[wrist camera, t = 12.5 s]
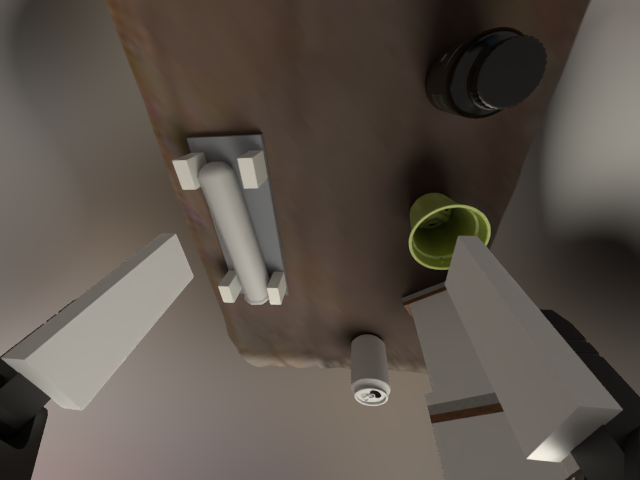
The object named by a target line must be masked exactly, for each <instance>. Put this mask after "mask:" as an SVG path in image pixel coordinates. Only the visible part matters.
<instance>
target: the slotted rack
mask: <svg viewBox="0 0 640 480" xmlns="http://www.w3.org/2000/svg"><path fill="white" fill-rule="evenodd" d="M186 139H187V142H188V145H189V148H190V151H191V153H189V154H187V155H185V156H182V157H180V158H177V159H175V160H172V162H173V165H174V167H175V170H176V173H177V175H178V178H179V181H180V184H181V186H182V189H183V190H194V189H197V188H199V187H200V184H199V181H198V179H197V178H198V175H199V171H200V169H201V168H202V167H203V166H204V165H206V164H208V163H210V162H221V161H222V162H224V163H226V164H228V165H229V166H230V167H231V168H232V169H234V171H235V174H236V177H237V180H238V183H239V186H240V189H241V192H242V195H243V198H244V201H245V205H246V208H247V211H248V214H249V217H250V220H251V223H252V226H253V229H254V232H255V235H256V238H257V242H258V245H259V248H260V251H261V254H262V257H263V260H264V263H265V266H266V269H267V272H268V276H269V279H270V281H269V284H268V286H267V292H268V296H269V300H270V304H276V305H281V303H282V300H283V297H284V295H288V293H289V289H288V283H287V277H286V271H285V265H284V259H283V253H282V247H281V241H280V235H279V229H278V223H277V217H276V211H275V205H274V199H273V193H272V187H271V181H270V175H269V169H268V163H267V157H266V151H265V145H264V139H263V134H247V135H226V136H204V137H189V138H186ZM207 204H208V203H207ZM208 208H209V206H208ZM209 211H210V208H209ZM210 214H211V217H212V220H213V223H214V226H215V229H216V232H217V236H218V239H219V242H220V245H221V248H222V251H223V254H224V257H225V260H226V264H227V267H228V270H229V271H228V272H227V274H226V275H225V277H224V278H223V280H222V281H221V283H220V284H219V285H218V288H219V290H220V293H221V296H222V299H223V301H224V302H228V303H234V302H235V300H236V298H237V296H238V295H239V293H244V292H243V290H242V287H241V285H240V282H239V280H238V277H237V275H236V272H235V270H234V267H233V265H232V262H231V260H230V258H229V255H228V253H227V250H226V248H225V245H224V243H223V240H222V238H221V235H220V233H219V230H218V228H217V226H216V223H215V221H214V218H213V216H212V213H211V211H210Z"/></svg>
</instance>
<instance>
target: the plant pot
mask: <svg viewBox="0 0 640 480" xmlns="http://www.w3.org/2000/svg"><path fill="white" fill-rule="evenodd" d="M447 208H448V210H447V211H446V209H447ZM410 221H411V233H410V235H409V249H410V252H411V254H412V256H413V258H414V259H415V260H416V261H417V262H418V263H420V264H421V265H423V266H425V267H428V268H431V269H437V270H446V269H449V267H450V263H451V260H452V256H453V252H454V249H455V245H456V242H457V238H458V236H478V237H479V239H480V240H481V241H482V242H483V243H484V245H485V246H486V245H487V243H488V241H489V238H490V232H491V231H490V224H489V221H488V219H487V218H486V216H485V215H484V214H483V213H482V212H481V211H479V210H478V209H476V208H474V207H472V206H468V205H463V204H458V203H456V202H454V201H453V200H451V199H450V198H448V197H447V196H445V195H443V194H440V193H428V194H425V195H423V196H421V197H419V198H418V199H417V200H416V201H415V203H414V204H413V205H412V207H411V209H410ZM433 223H437V224H435V225H433V226H429V224H433Z"/></svg>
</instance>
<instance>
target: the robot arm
mask: <svg viewBox="0 0 640 480" xmlns="http://www.w3.org/2000/svg"><path fill="white" fill-rule="evenodd" d="M193 277H194V276H193V273H192V271H191V269H190V266H189V264H188V261H187V259H186V257H185V255H184V252H183V250H182V247H181V245H180V242H179V240H178V238H177V235H176V234H160V235H159V236H158V237H156V238H155V239H154V240H153V241H151V242H150V243H149V244H147V245H146V246H145V247H144V248H142V249H141V250H140V251H138V252H137V253H136V254H135V255H133V256H132V257H131V258H129V259H128V260H127V261H125V262H124V263H123V264H122V265H120V266H119V267H118V268H116V269H115V270H114V271H112V272H111V273H110V274H109V275H107V276H106V277H105V278H103V279H102V280H101V281H100V282H98V283H97V284H96V285H94V286H93V287H92V288H90V289H89V290H88V291H87V292H85V293H84V294H83V295H82V296H80V297H79V298H77V299H76V300H74V301H72V302H71V303H70V304H68V305H67V306H66V307H64V308H63V309H62V310H60V311H59V312H58V314H55V315H54V316H53V317H51V318H50V319H49V320H47V322H46V323H45V324H42V325H41V326H40V327H38V328H37V329H36V330H34V331H33V332H32V333H30V334H29V335H28V336H27V337H25V338H24V339H23V340H21V341H20V342H19V343H18V344H16V345H15V346H14V347H12V348H11V349H10V350H8V351H7V352H6V353H4V354H3V355H2V356H1V357H0V480H31V477H32V473H33V469H34V466H35V462H36V458H37V454H38V450H39V447H40V443H41V439H42V435H43V431H44V428H45V424H46V420H47V416H48V411H47V409H46V408H44V407H43V406H44V405H45V404H46V403H47V402H48V401H49V400H50V399H52V400H53V401H54V402H55V403H57V404H58V405H59V406H60V407H62V408H66V409H75V410H84V408H85V407H86V406H87V405H88V404H89V402H90V401H91V400H92V399H93V398H94V396H95V395H96V394H97V393H98V392H99V390H100V389H101V388H102V387H103V386H104V384H105V383H106V382H107V381H108V380H109V378H110V377H111V376H112V375H113V373H114V372H115V371H116V370H117V369H118V368H119V366H120V365H121V364H122V363H123V361H124V360H125V359H126V358H127V357H128V355H129V354H130V353H131V352H132V351H133V349H134V348H135V347H136V346H137V345H138V343H139V342H140V341H141V340H142V339H143V337H144V336H145V335H146V334H147V332H148V331H149V330H150V329H151V328H152V326H153V325H154V324H155V323H156V321H158V319H159V318H160V317H161V316H162V315H163V313H164V312H165V311H166V310H167V309H168V307H169V306H170V305H171V304H172V302H173V301H174V300H175V299H176V298H177V297H178V295H179V294H180V293H181V292H182V291H183V289H184V288H185V287H186V286H187V284H188V283H189V282H190V281H191V280H192V278H193ZM445 286H446V289H447V291H448V293H449V295H450V297H451V299H452V301H453V304H454V306H455V308H456V310H457V312H458V314H459V316H460V318H461V321H462V323H463V325H464V327H465V329H466V331H467V333H468V336H469V338H470V340H471V342H472V344H473V346H474V348H475V351H476V353H477V355H478V357H479V359H480V361H481V363H482V365H483V368H484V370H485V372H486V374H487V376H488V378H489V380H490V383H491V385H492V387H493V389H494V391H495V393H496V395H497V397H498V400H499V402H500V404H501V406H502V408H503V410H504V412H505V415H506V417H507V419H508V421H509V423H510V425H511V427H512V430H513V432H514V434H515V436H516V438H517V440H518V442H519V444H520V447H521V449H522V451H523V453H524V455H525V457H526V459H532V460H541V461H550V462H560V461H562V460H563V459H564V458H565V457H566V456H568V455H569V454H570V453H571V454H572V456H573V457H574V459H575V461H576V462H577V464H578V466H579V467H580V469H579V470H577V471H576V472H575V473H573V474H572V475H571V476H569V477H568V478H566V479H565V480H640V397H639V396H638V395H637V394H636V393H635V391H634V390H633V389H632V388H631V387H630V386H629V385H628V384H627V383H626V382H625V381H624V380H623V379H622V377H621V376H620V375H619V374H618V373H617V372H616V371H615V370H614V369H613V368H612V367H611V366H610V365H609V363H608V362H607V361H606V360H605V359H604V358H603V357H600V356H599V353H598V352H597V350H596V349H595V348H594V347H593V346H592V345H591V344H590V343H587V342H586V339H585V337H584V336H583V335H582V334H581V333H580V332H579V331H578V330H577V329H576V328H575V327H574V326H573V325H572V324H571V323H570V322H569V321H567V320H566V319H564V318H563V317H561V316H560V315H558V314H557V313H556V312H554V311H553V310H540V309H538V308H537V306H536V305H535V304H534V303H533V302H532V301H531V299H530V298H529V297H528V296H527V295H526V294H525V292H524V291H523V290H522V289H521V287H520V286H519V285H518V284H517V283H516V282H515V280H514V279H513V278H512V277H511V276H510V274H509V273H508V272H507V271H506V270H505V268H504V267H503V266H502V265H501V264H500V262H499V261H498V260H497V259H496V258H495V256H494V255H493V254H492V253H491V252H490V250H489V249H488V248H487V247H486V246H485V245H484V243H483V242H482V241H481V240H480V239H479V237H478V236H458V238H457V242H456V245H455V249H454V252H453V256H452V260H451V263H450V267H449V270H448V274H447V278H446V281H445Z"/></svg>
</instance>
